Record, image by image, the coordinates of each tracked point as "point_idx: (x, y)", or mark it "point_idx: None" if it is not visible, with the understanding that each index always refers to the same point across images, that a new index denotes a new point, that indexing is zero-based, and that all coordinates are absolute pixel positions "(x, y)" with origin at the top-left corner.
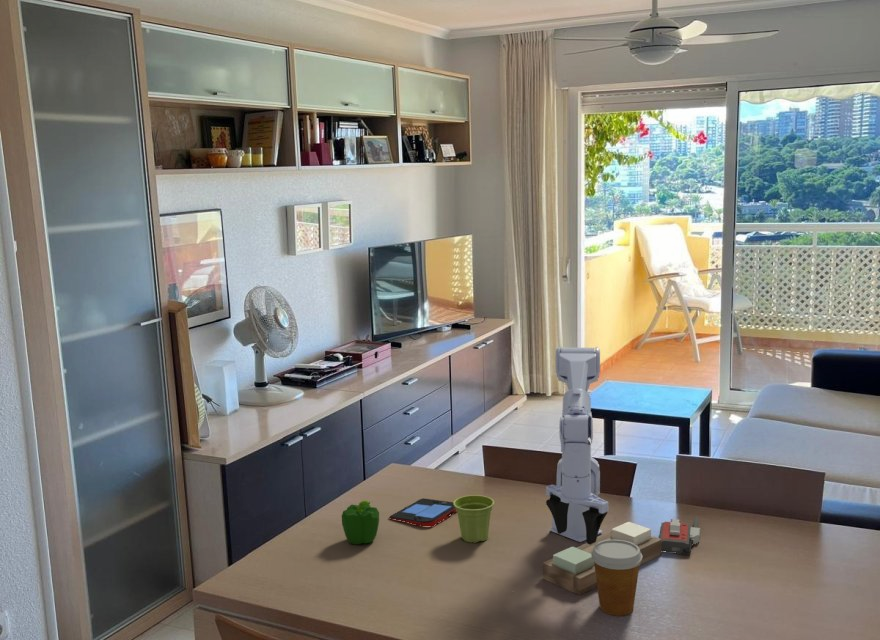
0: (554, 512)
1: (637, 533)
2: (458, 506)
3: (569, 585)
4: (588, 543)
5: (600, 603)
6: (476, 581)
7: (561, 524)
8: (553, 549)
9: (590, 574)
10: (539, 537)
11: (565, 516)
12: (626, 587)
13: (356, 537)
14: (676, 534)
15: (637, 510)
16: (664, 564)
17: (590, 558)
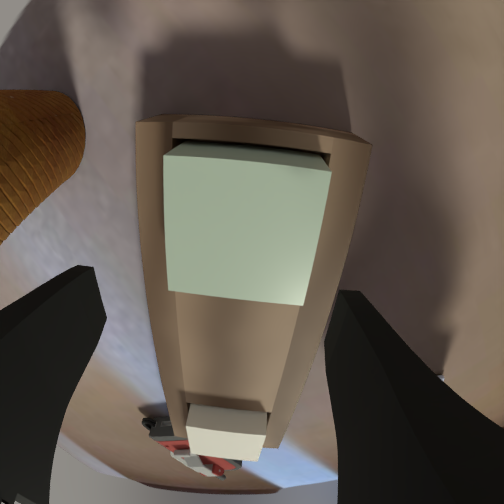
0: (434, 423)
1: (195, 437)
2: None
3: (207, 117)
4: (80, 266)
5: (53, 94)
6: (493, 15)
7: (348, 354)
8: (411, 321)
9: (139, 190)
10: (458, 343)
11: (342, 429)
12: None
13: None
14: (178, 451)
15: (319, 470)
16: (145, 382)
17: (168, 261)
